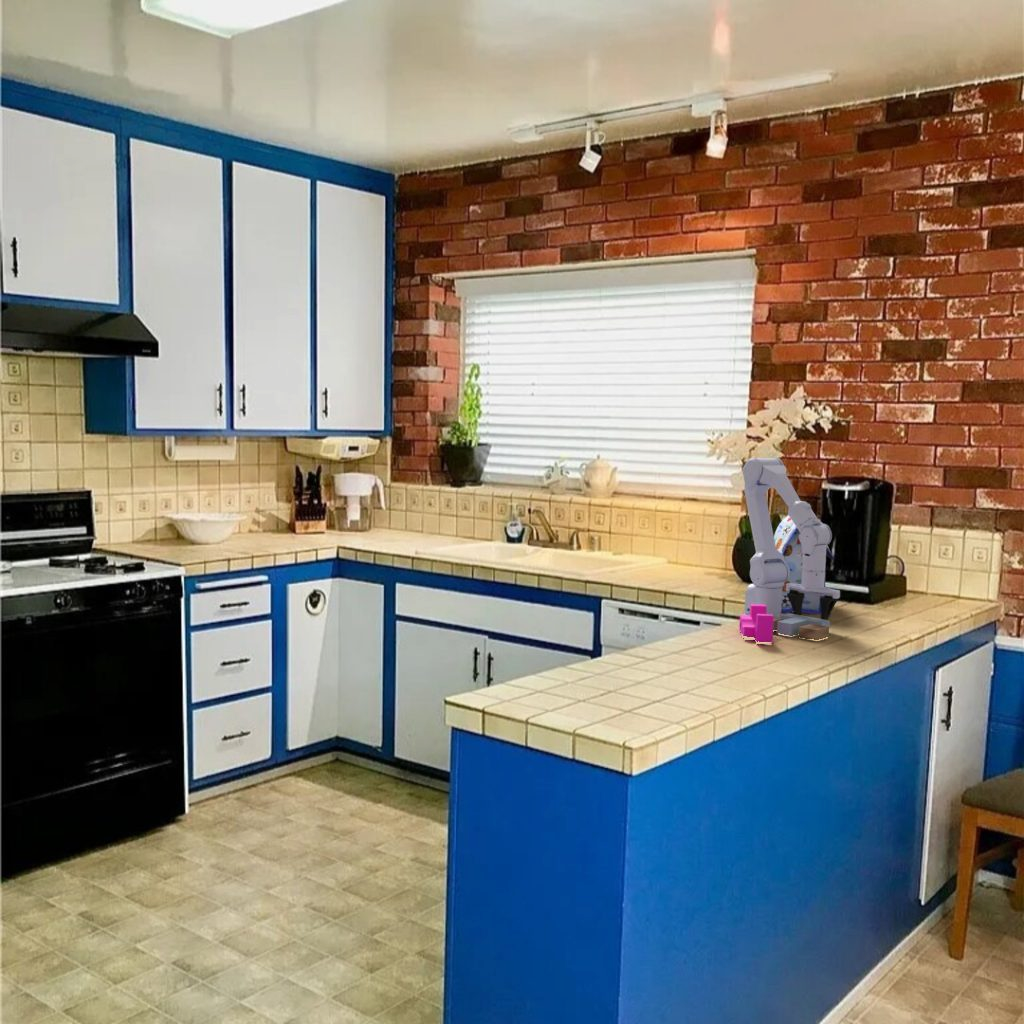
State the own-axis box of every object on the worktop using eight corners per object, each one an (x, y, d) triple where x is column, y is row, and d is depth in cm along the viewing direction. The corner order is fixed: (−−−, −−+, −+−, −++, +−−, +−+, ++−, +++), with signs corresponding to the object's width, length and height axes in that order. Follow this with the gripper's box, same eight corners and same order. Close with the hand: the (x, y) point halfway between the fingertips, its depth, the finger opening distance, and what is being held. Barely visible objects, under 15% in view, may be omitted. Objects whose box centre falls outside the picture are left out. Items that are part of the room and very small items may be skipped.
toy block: (739, 632, 267) (740, 603, 266) (763, 633, 266) (765, 604, 266) (745, 645, 252) (747, 614, 251) (772, 646, 251) (773, 616, 251)
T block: (763, 632, 266) (763, 618, 266) (787, 626, 275) (788, 613, 275) (805, 640, 258) (805, 626, 258) (828, 633, 266) (829, 620, 266)
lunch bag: (833, 615, 291) (839, 520, 288) (773, 612, 293) (778, 518, 290) (817, 600, 314) (822, 512, 311) (762, 598, 315) (766, 510, 312)
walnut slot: (753, 629, 269) (754, 618, 269) (765, 626, 273) (766, 615, 273) (816, 642, 256) (817, 630, 256) (828, 638, 260) (829, 626, 260)
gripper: (780, 568, 273) (778, 619, 274) (831, 575, 262) (828, 628, 264) (794, 565, 277) (792, 615, 279) (845, 573, 267) (842, 624, 269)
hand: (810, 621), depth 272 cm, fingers open, 7 cm apart
